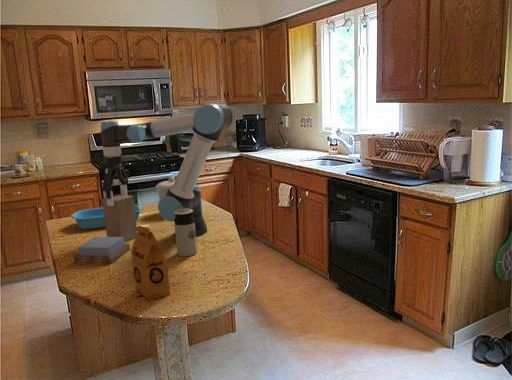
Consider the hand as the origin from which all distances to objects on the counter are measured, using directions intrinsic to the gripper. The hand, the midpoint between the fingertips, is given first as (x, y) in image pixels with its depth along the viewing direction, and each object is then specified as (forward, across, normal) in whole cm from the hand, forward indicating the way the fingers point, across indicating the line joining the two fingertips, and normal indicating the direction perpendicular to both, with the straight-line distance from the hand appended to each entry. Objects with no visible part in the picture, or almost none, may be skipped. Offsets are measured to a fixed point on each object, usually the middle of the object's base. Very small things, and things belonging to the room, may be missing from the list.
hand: (117, 201), depth 193 cm
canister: (+18, -46, +10) cm, 50 cm away
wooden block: (+18, 0, 0) cm, 18 cm away
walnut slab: (+18, +22, +3) cm, 29 cm away
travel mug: (+18, +18, +38) cm, 45 cm away
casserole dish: (+19, -27, -20) cm, 39 cm away
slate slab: (+15, +22, +3) cm, 27 cm away
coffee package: (+17, +54, +38) cm, 68 cm away
